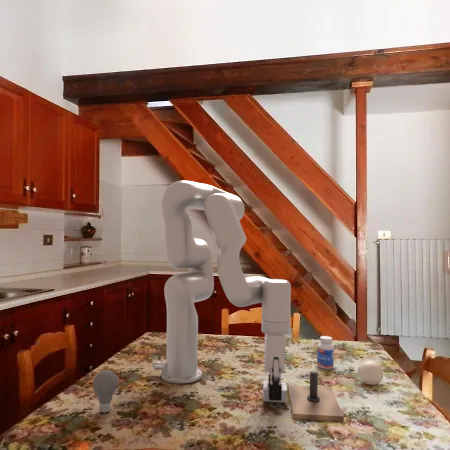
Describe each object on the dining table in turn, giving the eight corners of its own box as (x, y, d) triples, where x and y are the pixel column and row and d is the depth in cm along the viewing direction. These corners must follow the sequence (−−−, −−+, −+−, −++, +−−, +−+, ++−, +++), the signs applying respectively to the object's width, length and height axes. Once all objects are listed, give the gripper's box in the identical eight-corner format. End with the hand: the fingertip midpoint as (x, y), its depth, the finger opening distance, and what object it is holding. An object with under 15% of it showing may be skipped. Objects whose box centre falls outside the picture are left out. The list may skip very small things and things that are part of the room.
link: (263, 401, 104) (263, 389, 104) (263, 391, 110) (263, 380, 110) (286, 402, 103) (286, 390, 103) (285, 393, 109) (285, 382, 109)
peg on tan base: (293, 418, 97) (293, 384, 97) (287, 389, 115) (288, 360, 115) (343, 421, 96) (344, 386, 96) (330, 391, 114) (331, 362, 114)
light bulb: (103, 419, 95) (104, 376, 95) (86, 412, 98) (87, 371, 98) (122, 410, 100) (123, 369, 100) (105, 404, 103) (106, 365, 104)
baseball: (361, 377, 126) (361, 356, 126) (385, 383, 122) (385, 360, 122) (354, 384, 120) (354, 361, 120) (379, 390, 116) (380, 366, 116)
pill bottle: (315, 367, 134) (316, 338, 135) (318, 363, 139) (318, 334, 140) (332, 370, 132) (333, 340, 133) (334, 365, 137) (335, 336, 138)
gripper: (261, 318, 116) (260, 381, 116) (261, 333, 99) (260, 408, 98) (287, 319, 115) (286, 383, 115) (292, 335, 98) (291, 409, 98)
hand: (274, 394), depth 107 cm, fingers closed on link, 6 cm apart
